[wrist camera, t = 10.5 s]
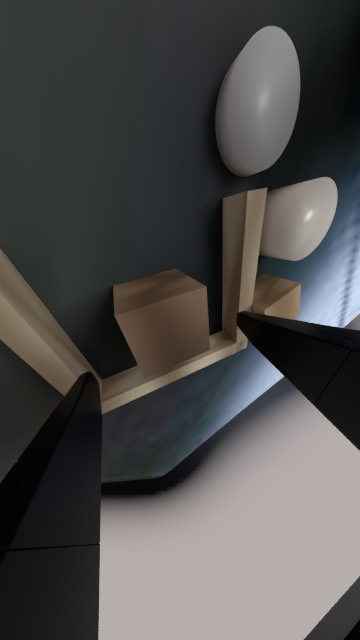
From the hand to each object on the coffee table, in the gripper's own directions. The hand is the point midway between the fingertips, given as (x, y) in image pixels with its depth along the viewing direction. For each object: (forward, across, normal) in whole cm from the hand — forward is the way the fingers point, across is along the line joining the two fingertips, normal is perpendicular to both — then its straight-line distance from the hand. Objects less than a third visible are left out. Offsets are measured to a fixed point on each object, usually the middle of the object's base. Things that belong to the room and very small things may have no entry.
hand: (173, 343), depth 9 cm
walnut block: (+6, 0, 0) cm, 6 cm away
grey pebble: (+6, -9, -10) cm, 15 cm away
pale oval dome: (+6, -12, -4) cm, 14 cm away
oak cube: (+6, -11, +3) cm, 13 cm away
